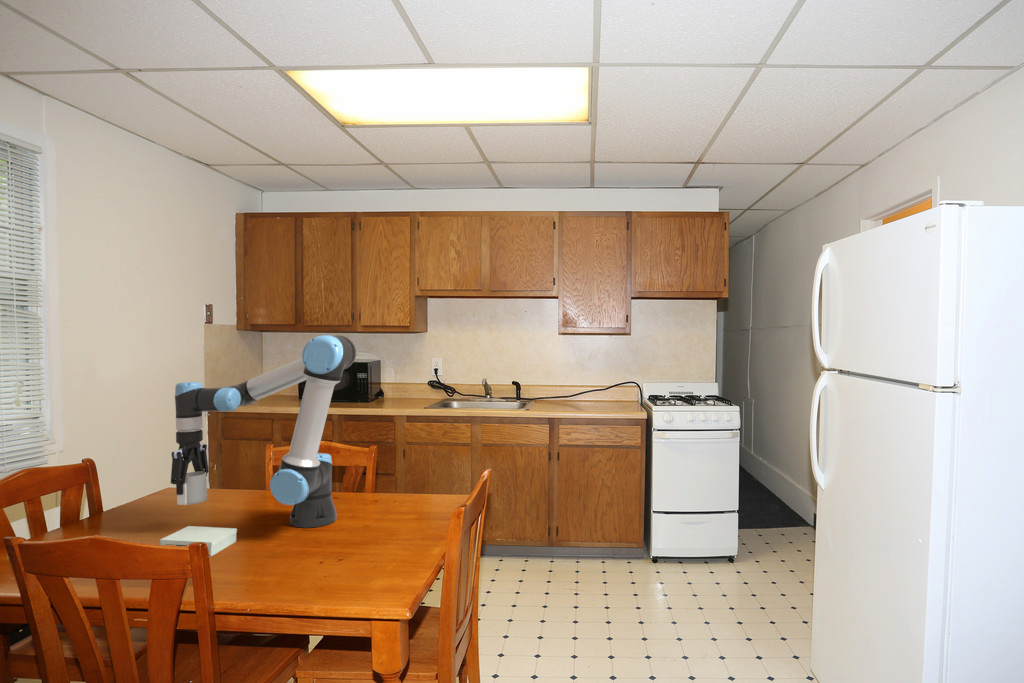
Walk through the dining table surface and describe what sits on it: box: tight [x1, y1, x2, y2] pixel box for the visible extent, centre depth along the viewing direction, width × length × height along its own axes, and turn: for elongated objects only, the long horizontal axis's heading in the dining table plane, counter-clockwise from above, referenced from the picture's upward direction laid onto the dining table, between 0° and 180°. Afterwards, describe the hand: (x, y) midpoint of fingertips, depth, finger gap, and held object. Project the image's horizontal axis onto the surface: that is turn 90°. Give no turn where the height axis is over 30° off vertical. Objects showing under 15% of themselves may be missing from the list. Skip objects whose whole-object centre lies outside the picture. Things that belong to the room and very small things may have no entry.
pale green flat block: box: [159, 525, 238, 557], centre depth 169 cm, size 16×12×4 cm
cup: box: [184, 471, 208, 506], centre depth 184 cm, size 7×10×9 cm
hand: (190, 500), depth 183 cm, fingers closed on cup, 7 cm apart
